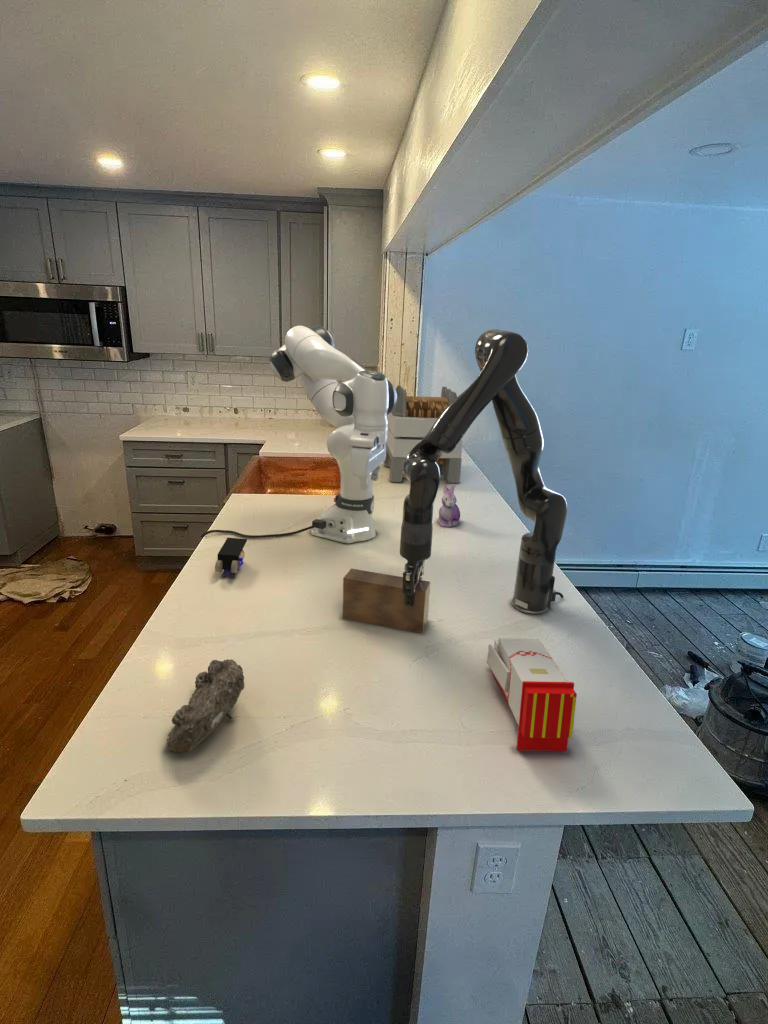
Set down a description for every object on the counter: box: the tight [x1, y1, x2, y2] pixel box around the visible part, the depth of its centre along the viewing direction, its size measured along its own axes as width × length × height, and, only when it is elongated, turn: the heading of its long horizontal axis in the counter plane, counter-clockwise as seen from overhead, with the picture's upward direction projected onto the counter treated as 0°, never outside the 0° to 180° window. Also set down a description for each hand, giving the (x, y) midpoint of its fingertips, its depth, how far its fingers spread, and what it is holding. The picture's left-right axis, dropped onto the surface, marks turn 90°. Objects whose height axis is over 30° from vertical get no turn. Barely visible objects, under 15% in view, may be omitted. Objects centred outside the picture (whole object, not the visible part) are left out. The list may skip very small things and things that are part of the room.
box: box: [342, 568, 431, 634], centre depth 142 cm, size 21×6×12 cm, turn 74°
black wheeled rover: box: [214, 537, 248, 578], centre depth 166 cm, size 7×8×15 cm
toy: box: [486, 637, 578, 752], centre depth 114 cm, size 12×13×30 cm
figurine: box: [437, 483, 461, 528], centre depth 209 cm, size 9×10×15 cm
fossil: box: [166, 658, 245, 754], centre depth 106 cm, size 22×10×15 cm
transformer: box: [382, 384, 464, 484], centre depth 268 cm, size 34×33×41 cm
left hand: (369, 484), depth 154 cm, fingers open, 8 cm apart
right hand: (412, 599), depth 140 cm, fingers closed on box, 6 cm apart
